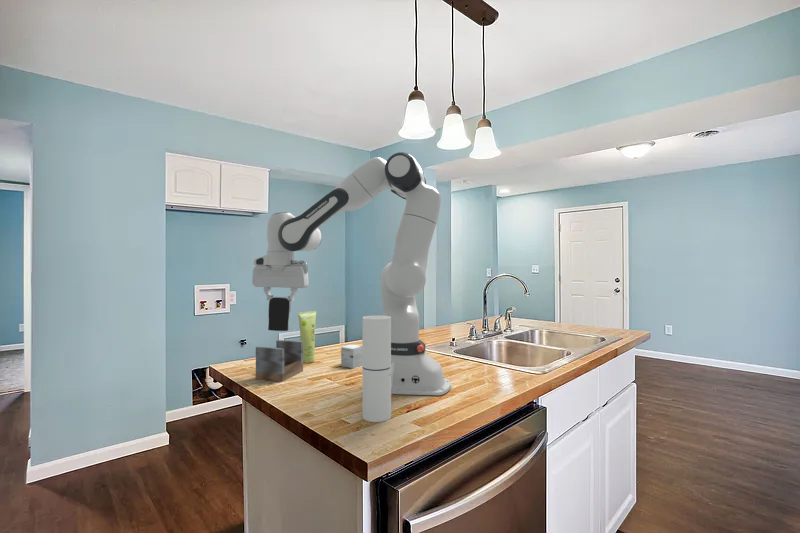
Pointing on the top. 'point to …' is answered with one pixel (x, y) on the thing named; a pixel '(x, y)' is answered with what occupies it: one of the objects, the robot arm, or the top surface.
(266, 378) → the cradle
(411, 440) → the top surface
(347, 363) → the skincare box
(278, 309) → the battery
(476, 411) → the top surface
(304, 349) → the tube
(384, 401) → the cylindrical container
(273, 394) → the top surface
